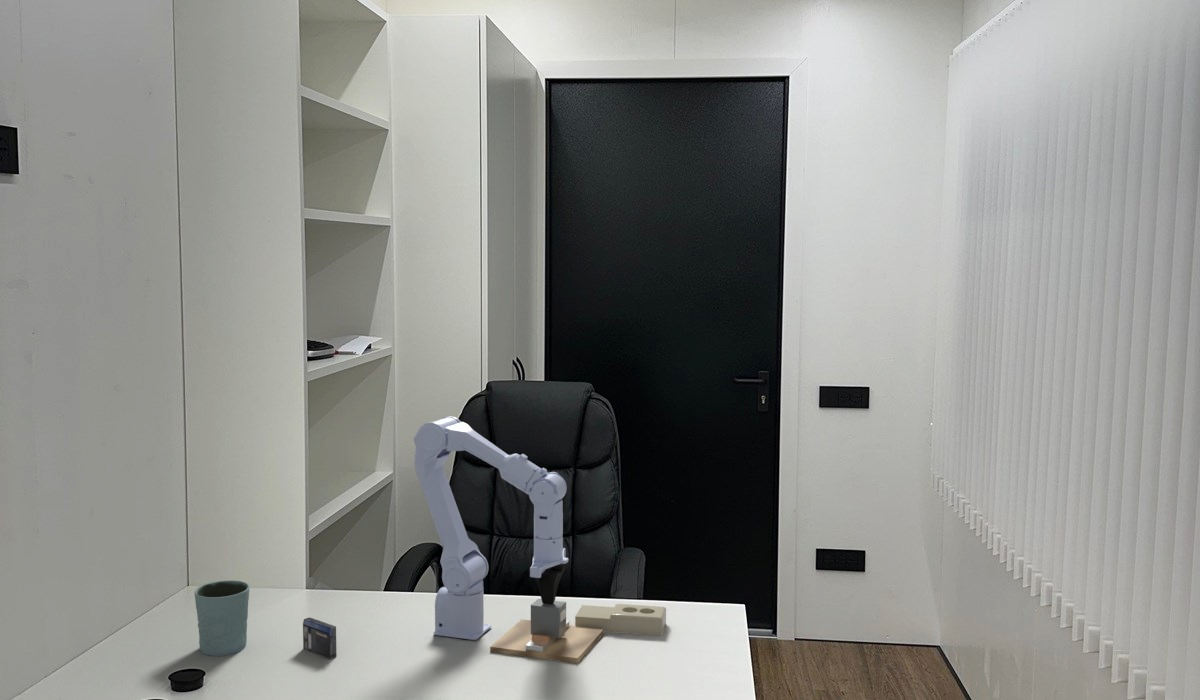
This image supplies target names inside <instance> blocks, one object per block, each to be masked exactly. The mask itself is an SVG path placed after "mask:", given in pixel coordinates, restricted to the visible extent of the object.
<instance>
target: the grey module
mask: <svg viewBox="0 0 1200 700" xmlns="http://www.w3.org/2000/svg"><path fill="white" fill-rule="evenodd" d="M530 620H531V635H532V634H533V633H542V634H550V635H551V637H553V638H560V637H561V636H562V635H563V634H564V633H565V632H566V621H567V602H566V601H563V600H561V601H560V600H555V601H554V603H553V604H544V603H542V600H541V598H537V599H536V600H535V601H533V602H532V603H531V604H530Z"/></svg>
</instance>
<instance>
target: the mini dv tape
mask: <svg viewBox="0 0 1200 700" xmlns="http://www.w3.org/2000/svg"><path fill="white" fill-rule="evenodd" d="M302 644H303V646H302V648H303V650H306V651H308V652H311V653H313V654H316V655H318V656H322V657H324V658H326V659H329V660H330V659H331V660H332V659H334V658H336V657H337V655H338V654H337V627H336V626H335V625H333V624H331V623H327V622H324V621H321V620H319V619H315V618H312V617H310V616H309V617H306V618H304V619H303V621H302Z"/></svg>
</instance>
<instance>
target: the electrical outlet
mask: <svg viewBox="0 0 1200 700" xmlns="http://www.w3.org/2000/svg"><path fill="white" fill-rule="evenodd" d="M574 619H575V621H574V623H575V625H574V626H580V627H589V628H597V629H604V633H605V632H606V633H615V634H617V633H618V634H629V635H630V634H631V635H645V636H659V637H662V636H663V635H664V631H665V628H666V626H665V625H667V608H666V607H665V606H657V605H641V604H625V603H616V604H615V605H614V606H601V605H587V604H586V605H585V604H582V605H581V606H580V608H579V609H578V611H577V613H576V614H575V616H574Z"/></svg>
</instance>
